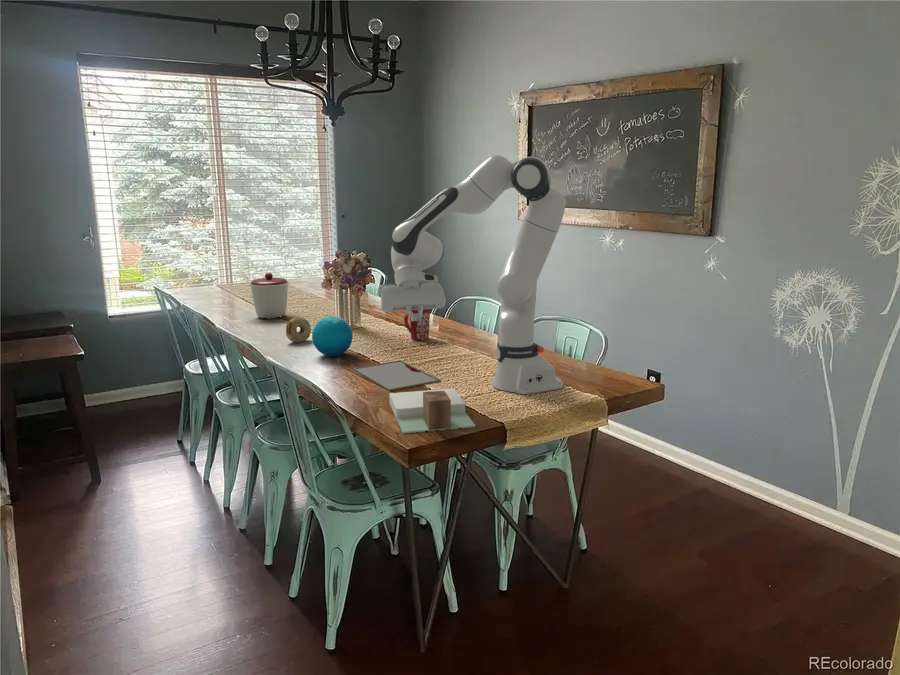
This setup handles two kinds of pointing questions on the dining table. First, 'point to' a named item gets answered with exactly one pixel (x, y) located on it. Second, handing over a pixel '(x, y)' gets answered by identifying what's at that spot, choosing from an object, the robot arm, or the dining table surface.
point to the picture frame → (395, 375)
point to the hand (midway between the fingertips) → (416, 319)
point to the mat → (420, 426)
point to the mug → (419, 325)
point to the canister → (270, 296)
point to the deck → (421, 403)
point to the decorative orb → (332, 336)
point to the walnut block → (436, 410)
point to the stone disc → (292, 329)
